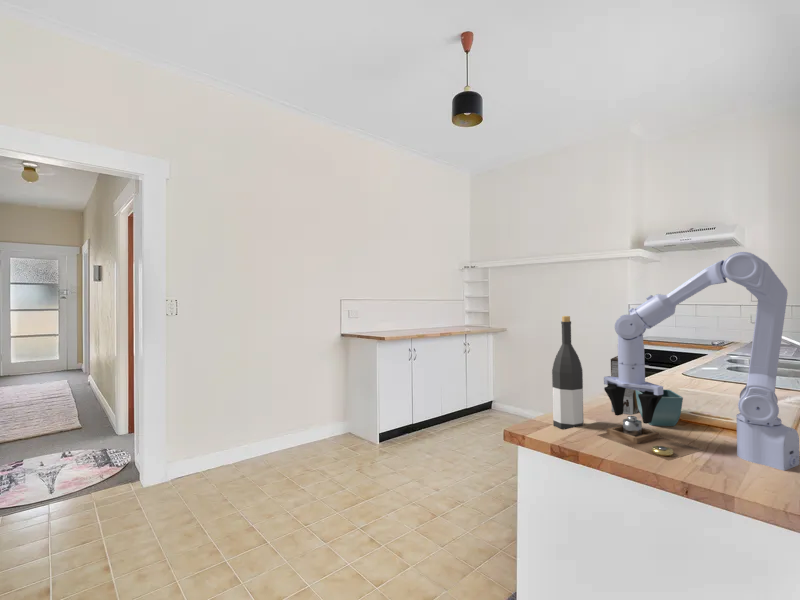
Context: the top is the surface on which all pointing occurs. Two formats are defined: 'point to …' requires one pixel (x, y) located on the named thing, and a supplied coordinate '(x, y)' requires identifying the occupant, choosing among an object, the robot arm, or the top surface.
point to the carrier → (648, 442)
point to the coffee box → (630, 394)
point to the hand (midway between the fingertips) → (632, 418)
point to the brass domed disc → (662, 451)
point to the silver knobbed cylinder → (632, 426)
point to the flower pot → (665, 409)
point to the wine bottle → (567, 383)
